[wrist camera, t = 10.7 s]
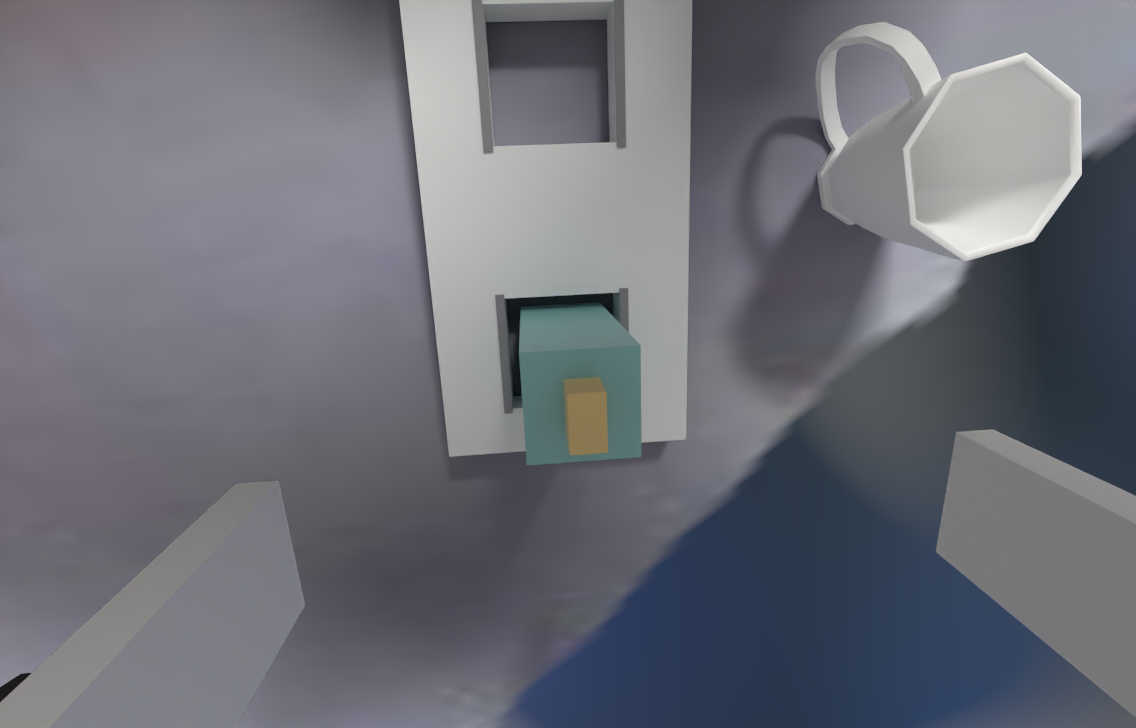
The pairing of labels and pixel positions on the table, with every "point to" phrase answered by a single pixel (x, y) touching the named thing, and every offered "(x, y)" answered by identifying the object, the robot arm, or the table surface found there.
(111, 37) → the table surface
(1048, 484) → the robot arm
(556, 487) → the table surface
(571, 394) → the plug
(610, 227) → the panel
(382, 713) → the table surface
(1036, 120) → the cup
